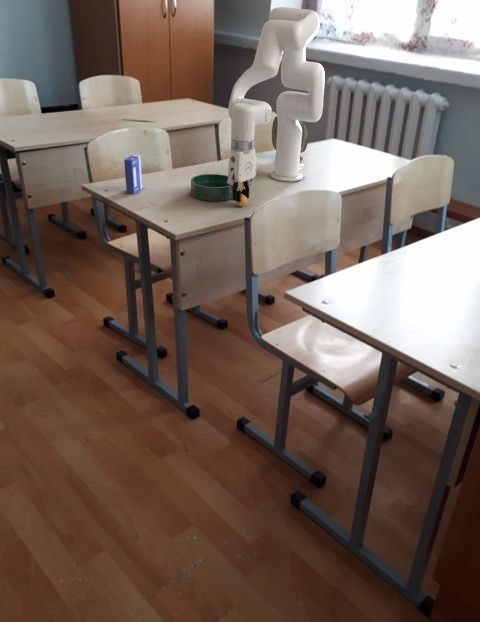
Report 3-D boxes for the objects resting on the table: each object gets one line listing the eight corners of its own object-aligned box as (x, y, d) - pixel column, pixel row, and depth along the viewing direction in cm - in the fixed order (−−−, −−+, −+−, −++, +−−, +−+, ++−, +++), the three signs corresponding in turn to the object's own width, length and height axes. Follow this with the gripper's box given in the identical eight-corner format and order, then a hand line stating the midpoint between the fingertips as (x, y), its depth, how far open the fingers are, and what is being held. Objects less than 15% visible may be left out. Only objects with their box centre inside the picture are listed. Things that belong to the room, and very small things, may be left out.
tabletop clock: (273, 161, 255) (277, 99, 241) (269, 156, 262) (272, 95, 249) (306, 161, 258) (311, 100, 244) (301, 156, 265) (306, 96, 252)
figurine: (251, 209, 202) (254, 174, 196) (236, 210, 200) (238, 174, 194) (241, 202, 209) (243, 167, 202) (225, 203, 206) (227, 168, 200)
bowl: (211, 184, 223) (211, 171, 220) (245, 194, 216) (245, 180, 213) (181, 194, 212) (181, 180, 209) (216, 205, 204) (216, 190, 202)
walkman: (133, 194, 209) (131, 159, 202) (126, 193, 209) (123, 158, 203) (143, 187, 215) (141, 154, 209) (135, 186, 216) (133, 153, 209)
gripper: (235, 151, 186) (234, 208, 196) (266, 142, 198) (263, 196, 208) (217, 146, 190) (216, 202, 200) (248, 138, 201) (246, 191, 211)
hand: (240, 198), depth 204 cm, fingers closed on figurine, 4 cm apart
